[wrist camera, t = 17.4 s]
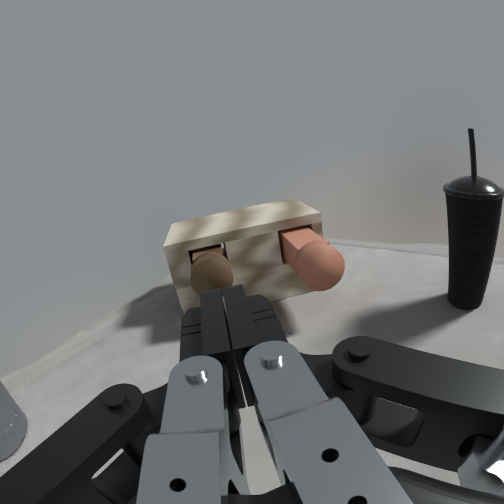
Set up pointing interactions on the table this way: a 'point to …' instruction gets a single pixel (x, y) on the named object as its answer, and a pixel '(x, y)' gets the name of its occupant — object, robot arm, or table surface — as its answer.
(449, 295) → the drinking cup
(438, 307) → the table surface
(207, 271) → the walnut plug
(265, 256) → the socket block
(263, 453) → the table surface
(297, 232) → the terracotta plug
